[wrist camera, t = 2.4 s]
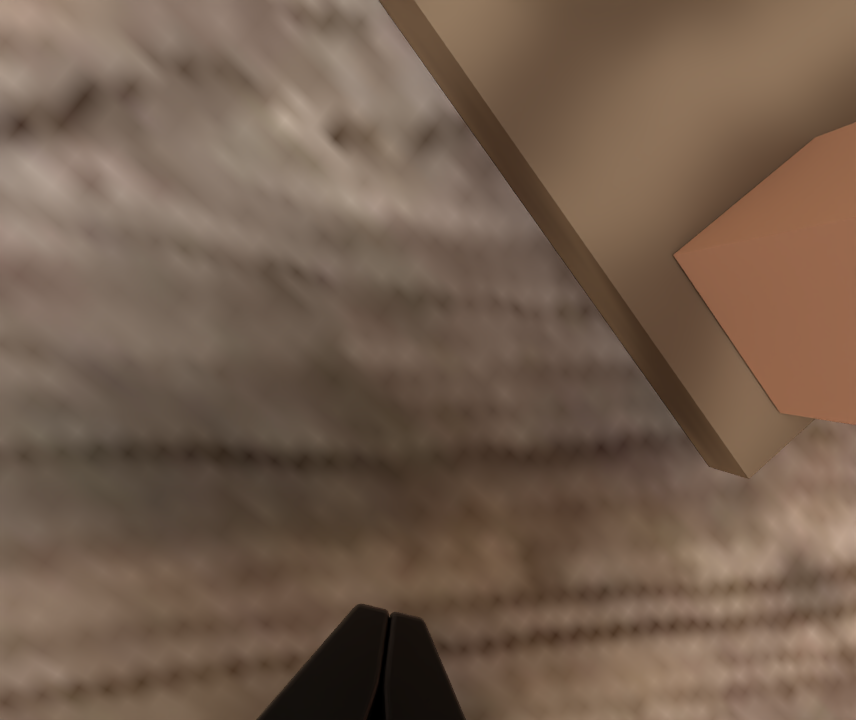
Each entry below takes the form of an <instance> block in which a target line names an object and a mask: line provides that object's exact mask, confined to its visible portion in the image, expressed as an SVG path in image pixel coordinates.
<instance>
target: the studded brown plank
mask: <svg viewBox="0 0 856 720" xmlns="http://www.w3.org/2000/svg"><path fill="white" fill-rule="evenodd" d="M379 1H380V2H381V4H382V5H383V7H384V8H385V10H386V11H387V12H388V14H389V15H390V17H391V18H392V19H393V21H394V22H395V24H396V25H397V26H398V28H399V29H400V31H401V32H402V34H403V35H404V36H405V38H406V39H407V41H408V42H409V43H410V45H411V46H412V48H413V49H414V50H415V52H416V53H417V55H418V56H419V58H420V59H421V60H422V62H423V63H424V65H425V66H426V67H427V69H428V70H429V72H430V73H431V74H432V76H433V77H434V79H435V80H436V82H437V83H438V84H439V86H440V87H441V89H442V90H443V91H444V93H445V94H446V96H447V97H448V98H449V100H450V101H451V103H452V104H453V106H454V107H455V108H456V110H457V111H458V113H459V114H460V115H461V117H462V118H463V120H464V121H465V122H466V124H467V125H468V127H469V128H470V130H471V131H472V132H473V134H474V135H475V137H476V138H477V139H478V141H479V142H480V144H481V145H482V146H483V148H484V149H485V151H486V152H487V154H488V155H489V156H490V158H491V159H492V161H493V162H494V163H495V165H496V166H497V168H498V169H499V170H500V172H501V173H502V175H503V176H504V178H505V179H506V180H507V182H508V183H509V185H510V186H511V187H512V189H513V190H514V192H515V193H516V194H517V196H518V197H519V199H520V200H521V202H522V203H523V204H524V206H525V207H526V209H527V210H528V211H529V213H530V214H531V216H532V217H533V218H534V220H535V221H536V223H537V224H538V226H539V227H540V228H541V230H542V231H543V233H544V234H545V235H546V237H547V238H548V240H549V241H550V242H551V244H552V245H553V247H554V248H555V250H556V251H557V252H558V254H559V255H560V257H561V258H562V259H563V261H564V262H565V264H566V265H567V266H568V268H569V269H570V271H571V272H572V274H573V275H574V276H575V278H576V279H577V281H578V282H579V283H580V285H581V286H582V288H583V289H584V290H585V292H586V293H587V295H588V296H589V298H590V299H591V300H592V302H593V303H594V305H595V306H596V307H597V309H598V310H599V312H600V313H601V314H602V316H603V317H604V319H605V320H606V322H607V323H608V324H609V326H610V327H611V329H612V330H613V331H614V333H615V334H616V336H617V337H618V338H619V340H620V341H621V343H622V344H623V346H624V347H625V348H626V350H627V351H628V353H629V354H630V355H631V357H632V358H633V360H634V361H635V362H636V364H637V365H638V367H639V368H640V370H641V371H642V372H643V374H644V375H645V377H646V378H647V379H648V381H649V382H650V384H651V385H652V386H653V388H654V389H655V391H656V392H657V394H658V395H659V396H660V398H661V399H662V401H663V402H664V403H665V405H666V406H667V408H668V409H669V410H670V412H671V413H672V415H673V416H674V418H675V419H676V420H677V422H678V423H679V425H680V426H681V427H682V429H683V430H684V432H685V433H686V434H687V436H688V437H689V439H690V440H691V442H692V443H693V444H694V446H695V447H696V449H697V450H698V451H699V453H700V454H701V456H702V457H703V458H704V460H705V461H706V463H707V464H708V466H709V467H712V468H715V469H718V470H722V471H725V472H728V473H731V474H735V475H738V476H741V477H744V478H747V479H750V478H751V477H752V476H753V475H754V474H755V473H756V472H757V471H758V470H759V469H761V468H762V467H763V466H764V465H765V464H766V463H767V462H768V461H769V460H770V459H771V458H773V457H774V456H775V455H776V454H777V453H778V452H779V451H780V450H781V449H782V448H784V447H785V446H786V445H787V444H788V443H789V442H790V441H791V440H792V439H793V438H795V437H796V436H797V435H798V434H799V433H800V432H801V431H802V430H803V429H804V428H806V427H807V426H808V425H809V424H810V423H811V422H812V421H813V420H814V419H815V418H808V417H802V416H796V415H789V414H783V413H780V412H779V411H778V409H777V408H776V406H775V405H774V403H773V402H772V400H771V399H770V397H769V396H768V394H767V393H766V392H765V390H764V389H763V387H762V386H761V384H760V383H759V381H758V380H757V378H756V377H755V375H754V374H753V372H752V371H751V369H750V368H749V366H748V365H747V363H746V362H745V360H744V359H743V358H742V356H741V355H740V353H739V352H738V350H737V349H736V347H735V346H734V344H733V343H732V341H731V340H730V338H729V337H728V335H727V334H726V332H725V331H724V329H723V328H722V326H721V325H720V324H719V322H718V321H717V319H716V318H715V316H714V315H713V313H712V312H711V310H710V309H709V307H708V306H707V304H706V303H705V301H704V300H703V298H702V297H701V295H700V294H699V292H698V291H697V290H696V288H695V287H694V285H693V284H692V282H691V281H690V279H689V278H688V276H687V275H686V273H685V272H684V270H683V269H682V267H681V266H680V264H679V263H678V261H677V260H676V259H675V257H674V256H673V255H674V254H675V253H676V252H677V251H679V250H680V249H681V248H682V247H683V246H685V245H686V244H687V243H688V242H690V241H691V240H692V239H693V238H694V237H696V236H697V235H698V234H699V233H700V232H702V231H703V230H704V229H705V228H706V227H708V226H709V225H710V224H711V223H712V222H714V221H715V220H716V219H717V218H718V217H720V216H721V215H722V214H723V213H725V212H726V211H727V210H728V209H729V208H731V207H732V206H733V205H734V204H735V203H737V202H738V201H739V200H740V199H741V198H743V197H744V196H745V195H746V194H747V193H749V192H750V191H751V190H752V189H754V188H755V187H756V186H757V185H758V184H760V183H761V182H762V181H763V180H764V179H766V178H767V177H768V176H769V175H770V174H772V173H773V172H774V171H775V170H776V169H778V168H779V167H780V166H781V165H782V164H784V163H785V162H786V161H787V160H789V159H790V158H791V157H792V156H793V155H795V154H796V153H797V152H798V151H799V150H801V149H802V148H803V147H804V146H805V145H807V144H808V143H809V142H810V141H811V140H813V139H814V138H815V137H818V136H820V135H823V134H826V133H828V132H831V131H834V130H836V129H839V128H842V127H844V126H847V125H850V124H852V123H855V122H856V0H379Z"/></svg>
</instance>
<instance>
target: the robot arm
mask: <svg viewBox="0 0 856 720" xmlns="http://www.w3.org/2000/svg"><path fill="white" fill-rule="evenodd" d="M256 720H466V719H465V716H464V714H463V712H462V709H461V707H460V704H459V702H458V700H457V697H456V695H455V693H454V690H453V688H452V685H451V683H450V681H449V678H448V676H447V674H446V671H445V669H444V666H443V664H442V662H441V659H440V657H439V655H438V652H437V650H436V648H435V645H434V643H433V640H432V638H431V636H430V633H429V631H428V629H427V626H426V624H425V622H424V620H423V619H421V618H419V617H416V616H411V615H407V614H403V613H399V612H394V613H392V614H391V615H390V617H389V613H388V611H387V610H385V609H382V608H378V607H373V606H369V605H365V604H358V605H356V606H355V607H354V608H353V609H352V610H351V611H350V613H349V614H348V615H347V616H346V617H345V618H344V620H343V621H342V622H341V623H340V624H339V625H338V626H337V628H336V629H335V630H334V631H333V632H332V633H331V634H330V636H329V637H328V638H327V639H326V640H325V641H324V642H323V644H322V645H321V646H320V647H319V648H318V649H317V651H316V652H315V653H314V654H313V655H312V656H311V657H310V659H309V660H308V661H307V662H306V663H305V664H304V665H303V667H302V668H301V669H300V670H299V671H298V672H297V674H296V675H295V676H294V677H293V678H292V679H291V680H290V682H289V683H288V684H287V685H286V686H285V687H284V688H283V690H282V691H281V692H280V693H279V694H278V695H277V696H276V698H275V699H274V700H273V701H272V702H271V703H270V705H269V706H268V707H267V708H266V709H265V710H264V711H263V713H262V714H261V715H260V716H259V717H258V718H257V719H256Z"/></svg>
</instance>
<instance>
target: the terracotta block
mask: <svg viewBox="0 0 856 720" xmlns="http://www.w3.org/2000/svg"><path fill="white" fill-rule="evenodd" d="M673 256H674V257H675V259H676V260H677V261H678V263H679V264H680V266H681V267H682V269H683V270H684V272H685V273H686V275H687V276H688V278H689V279H690V281H691V282H692V284H693V285H694V287H695V288H696V290H697V291H698V292H699V294H700V295H701V297H702V298H703V300H704V301H705V303H706V304H707V306H708V307H709V309H710V310H711V312H712V313H713V315H714V316H715V318H716V319H717V321H718V322H719V324H720V325H721V326H722V328H723V329H724V331H725V332H726V334H727V335H728V337H729V338H730V340H731V341H732V343H733V344H734V346H735V347H736V349H737V350H738V352H739V353H740V355H741V356H742V358H743V359H744V360H745V362H746V363H747V365H748V366H749V368H750V369H751V371H752V372H753V374H754V375H755V377H756V378H757V380H758V381H759V383H760V384H761V386H762V387H763V389H764V390H765V392H766V393H767V394H768V396H769V397H770V399H771V400H772V402H773V403H774V405H775V406H776V408H777V409H778V411H779V412H780V413H783V414H789V415H796V416H802V417H808V418H815V419H821V420H828V421H834V422H840V423H847V424H853V425H856V122H855V123H852V124H850V125H847V126H844V127H842V128H839V129H836V130H834V131H831V132H828V133H826V134H823V135H820V136H818V137H815V138H814V139H813V140H811V141H810V142H809V143H808V144H807V145H805V146H804V147H803V148H802V149H801V150H799V151H798V152H797V153H796V154H795V155H793V156H792V157H791V158H790V159H789V160H787V161H786V162H785V163H784V164H782V165H781V166H780V167H779V168H778V169H776V170H775V171H774V172H773V173H772V174H770V175H769V176H768V177H767V178H766V179H764V180H763V181H762V182H761V183H760V184H758V185H757V186H756V187H755V188H754V189H752V190H751V191H750V192H749V193H747V194H746V195H745V196H744V197H743V198H741V199H740V200H739V201H738V202H737V203H735V204H734V205H733V206H732V207H731V208H729V209H728V210H727V211H726V212H725V213H723V214H722V215H721V216H720V217H718V218H717V219H716V220H715V221H714V222H712V223H711V224H710V225H709V226H708V227H706V228H705V229H704V230H703V231H702V232H700V233H699V234H698V235H697V236H696V237H694V238H693V239H692V240H691V241H690V242H688V243H687V244H686V245H685V246H683V247H682V248H681V249H680V250H679V251H677V252H676V253H675V254H674V255H673Z"/></svg>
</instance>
